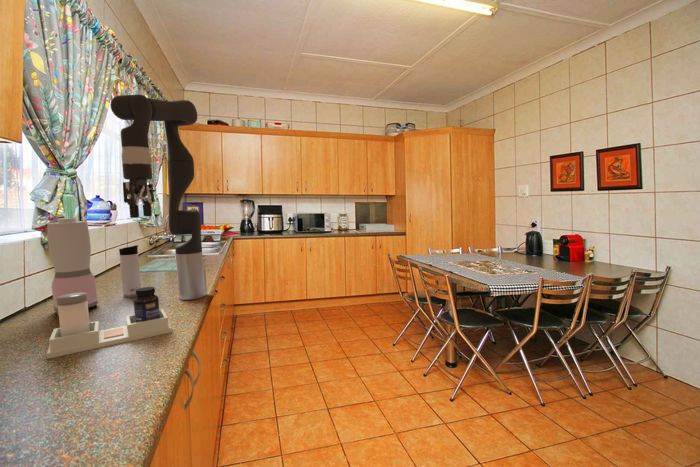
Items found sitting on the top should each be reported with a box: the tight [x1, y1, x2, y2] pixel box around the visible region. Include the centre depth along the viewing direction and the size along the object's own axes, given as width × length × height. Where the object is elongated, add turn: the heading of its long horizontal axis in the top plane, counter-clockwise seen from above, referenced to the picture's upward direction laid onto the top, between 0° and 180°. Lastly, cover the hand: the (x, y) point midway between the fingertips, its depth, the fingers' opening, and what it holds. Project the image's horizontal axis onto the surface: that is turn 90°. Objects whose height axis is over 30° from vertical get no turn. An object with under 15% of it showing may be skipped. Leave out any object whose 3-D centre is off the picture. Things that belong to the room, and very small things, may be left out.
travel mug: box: [118, 245, 142, 298], centre depth 141 cm, size 6×7×20 cm
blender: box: [46, 217, 99, 316], centre depth 125 cm, size 16×12×32 cm
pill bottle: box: [133, 286, 160, 323], centre depth 101 cm, size 6×6×11 cm
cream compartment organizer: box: [45, 293, 173, 359], centre depth 96 cm, size 27×11×13 cm, turn 124°
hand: (141, 217), depth 109 cm, fingers open, 8 cm apart
